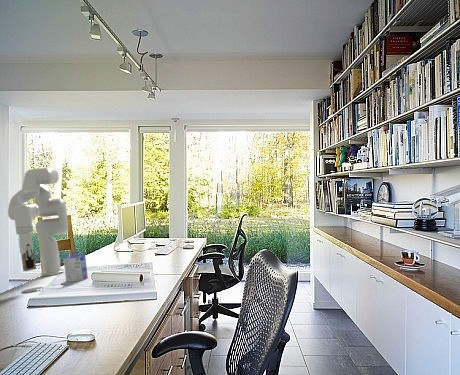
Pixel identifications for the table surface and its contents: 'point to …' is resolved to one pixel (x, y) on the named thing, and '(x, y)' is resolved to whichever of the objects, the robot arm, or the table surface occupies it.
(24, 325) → the table surface
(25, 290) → the slate coaster
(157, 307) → the table surface
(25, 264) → the walnut block
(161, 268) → the table surface
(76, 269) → the ink cartridge box
